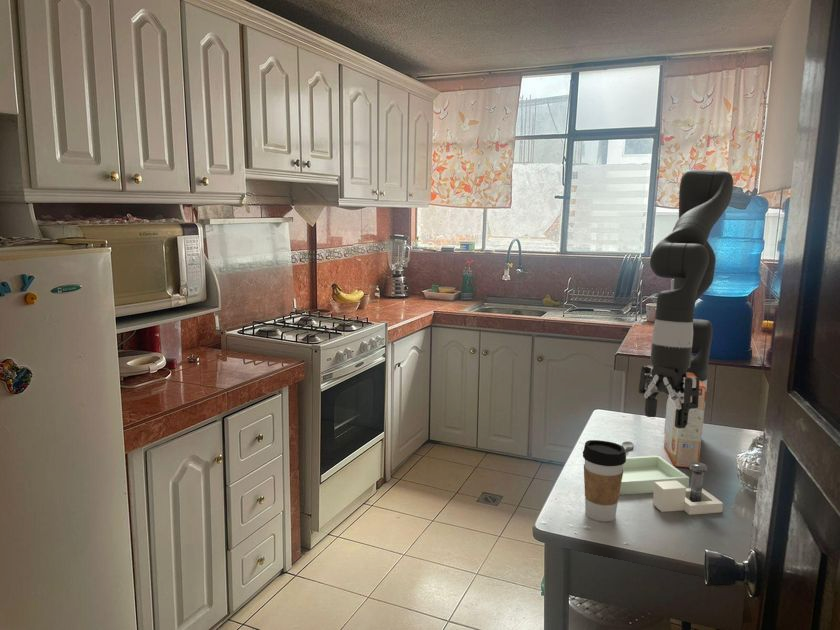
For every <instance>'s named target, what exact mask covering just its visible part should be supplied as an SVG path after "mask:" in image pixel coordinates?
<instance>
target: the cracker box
mask: <svg viewBox="0 0 840 630" xmlns="http://www.w3.org/2000/svg"><path fill="white" fill-rule="evenodd" d="M686 374H687V377H689V378H697V377H696V376H695V375H694V374H693V373H690V372H686ZM707 389H708V387H707V386H705V385H704V384H703V383H702V382H701V381H700V380H699V401H698V408H693V409H690V410H689V412H688V422H687V426H686V427H685V428H676V427H675V415H676V409H677V407H676V404H675V402H674V400H673V399H671V397H670V394H668V397H667V398H668V399H667V400H668V408H667V419H666V430H665V432H664V440H663V441H664V442H663V447H664V449H665V451H666V452H667V455H668V456H669V459H670V460H671V462H672V464H673V466H674V467H675V468H676V467H677V468H678V467H679V468H687V469H690V463H692V462H700V455H701V446H702V439H703V429H702V428H704V417H705V407H706V400H707V399H706V397H707ZM679 393H681V392H679ZM680 400H681V399H680ZM681 402H682V403H683V401H682V400H681ZM690 402H692V396H691V399H690ZM701 438H702V439H701Z"/></svg>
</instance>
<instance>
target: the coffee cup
mask: <svg viewBox="0 0 840 630" xmlns="http://www.w3.org/2000/svg"><path fill="white" fill-rule="evenodd" d="M626 457H627V455H626V451H625V449H624V447H622V444H618V443H616V442H613V441H606V440H597V439H590V440H589V439H588V440H587V441H585V443H584V446H583V451H582V458H583V459H584V465H583V476H584V477H583V478H584V484H583V485H584V502H585V503H584V504H585V505H584V507H585V514H586V516H587V517H588V518H589V519H592V520H593V521H597V522H604V523H605V522H606V523H607V522H611V521H613V520H615V519H616V514H617V509H618V503H619V499H620V495H619V493H620V487H621V482H622V476H623V464H624V463H625V462H626Z"/></svg>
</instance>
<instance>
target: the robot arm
mask: <svg viewBox="0 0 840 630" xmlns="http://www.w3.org/2000/svg"><path fill="white" fill-rule="evenodd" d="M681 176H682V177H681V179H680V183H679V189H678V190H679V191H678V193H679V195H678V219H677V221H676V222H675V224H674V227H673V229H672V231H671V232H670V233H668V235H666V236H665V237H664V238H662V239H661V240H660V241H659V242H658V243H657V244H656V245H655V247H654V248H653V251H652V252H651V255H650V258H649V260H650V261H649V266H650V269H651V271H652V273H653V274H654V275H655V276H657V277H659V278H663V279H673V289H668V290H667V289H666V290H661V291H660V292H659V293H658V294H657V296H656V297H657V298H656V307H655V315H654V316H655V318H654V319H655V320H654V325H653V329H652V336H651V337H652V339H651V348H650V361H649V362H650V365H642V366H641V370H640V377H639V378H640V379H639V386H638V393H639V394H640V395H641V394H642V395H643V396H644V397H643V398H644V399H645V406H644V412H645V413H644V415H645V416H646V417H647V418H654V417H655V418H656V416H657V408H658V399H657V398H658V396H659V395H660V394H661V393H663V392H664V393H665V394H667V395H669V394H670V397H671V399H673V400H674V402H675V404H676V407H677V409H676V415H675V427H676V428H685V427H686V426H687V422H688V412H689V410H690V409H693V408H698V401H699V380H700V381H701V382H702V383H703V384H704V385H705V386H706V387H707V386H708V385H707V384H708V374H709V372H708V371H709V361H710V360H709V359H710V353H711V346H712V341H713V333H714V332H713V325H712V322H711V321H710V320H708V319H702V318H701V319H699V318H694V315H695V305H696V302H697V300H698V299H700V298H701V297H702V296H703V295H704V294H705V293H706V292H707V290H709V288H710V287H711V285H712V284H713V281H714V277H715V276H714V275H715V268H716V253H715V252H714V249H713V248H712V246H711V244H710V243H709V240H708V239H709V236H710V233H711V231H712V230H713V228H714V226H715V225H716V223H717V222H718V221H719V220H720V219H721V217H722V215H723V214H724V212H725V211H726V210H727V209H728V206H729V204H730V202H731V199H732V195H733V192H734V191H733V190H734V178H733V175H732V174H731V173H730V172H729V171H724V170H715V169H713V170H712V169H687V170H686V171H685V172H684V173H683V175H681ZM692 354H696V355H695V356H694V357H692ZM686 372H690V373H693V374H694V375H695V376H696V377H697V378H689V377H687V374H686ZM679 392H681V393H679ZM691 396H692V402H690V399H691ZM680 399H681V400H682V401H683V403H682V402H681V400H680ZM667 408H668V399H667V400H666V407H665V409H666V410H665V419H664V430H663V431H664V433H665V430H666V419H667ZM703 428H704V427H703ZM703 428H702V430H703ZM702 439H703V437H702V438H701V440H702Z"/></svg>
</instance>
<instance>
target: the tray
mask: <svg viewBox="0 0 840 630" xmlns="http://www.w3.org/2000/svg"><path fill="white" fill-rule="evenodd" d="M661 481H678V482H679V483H680V484H682V485H683V486H684V487H686V488H690V487H689V483H690V477H689V476H688V475H687V474H685V473H684V472H682V471H681V470H679V469H678V467H677V468H676V466H674V464H673V465H672V464H671V463H669V462H668V461H667V460H665V459H664V458H663V457H661V456H660V455H646V456H645V455H644V456H626V462H625V463H624V464H623V476H622V482H621V487H620V493H619V496H623V495H638V494H649V493H650V494H651V493H654V482H661Z"/></svg>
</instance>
